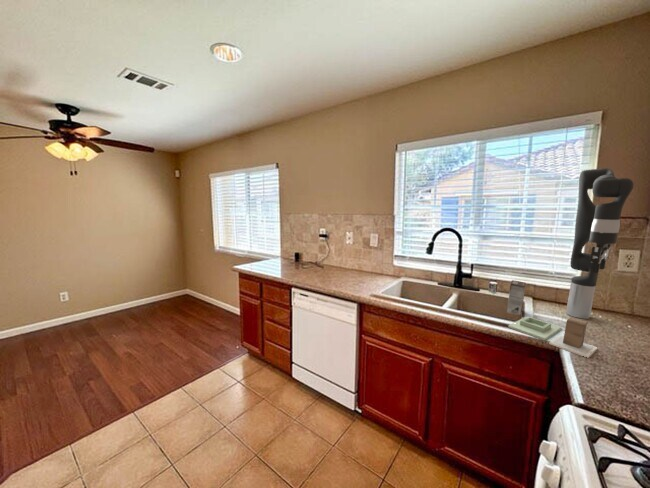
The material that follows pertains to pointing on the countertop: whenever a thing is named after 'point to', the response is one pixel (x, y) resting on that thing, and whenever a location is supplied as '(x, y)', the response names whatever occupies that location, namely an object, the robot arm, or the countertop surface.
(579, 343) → the walnut block
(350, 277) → the countertop surface
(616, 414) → the countertop surface
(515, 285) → the grey coffee bag
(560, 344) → the plate
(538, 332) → the pocket board
